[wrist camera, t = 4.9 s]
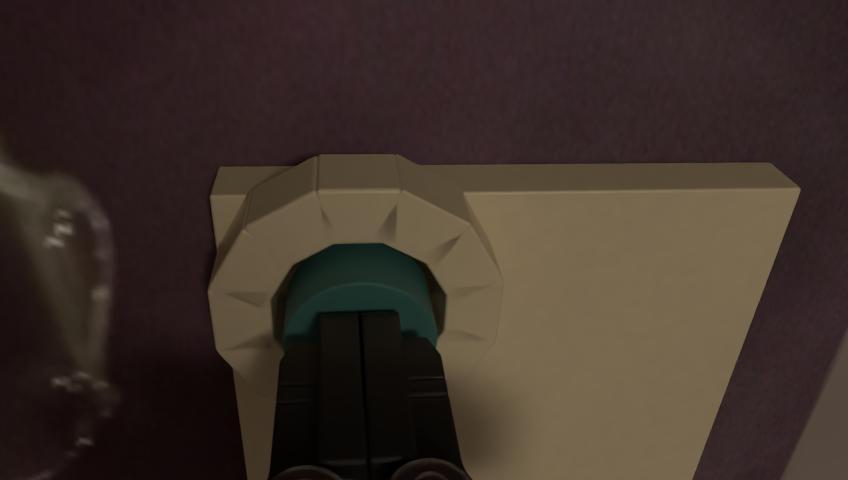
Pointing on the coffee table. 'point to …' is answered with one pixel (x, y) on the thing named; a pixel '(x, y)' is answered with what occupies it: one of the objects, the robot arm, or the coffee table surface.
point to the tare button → (357, 291)
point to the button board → (522, 296)
